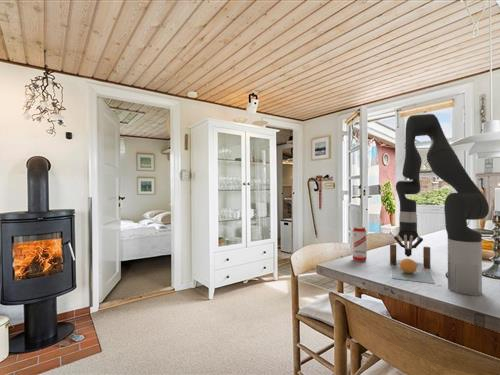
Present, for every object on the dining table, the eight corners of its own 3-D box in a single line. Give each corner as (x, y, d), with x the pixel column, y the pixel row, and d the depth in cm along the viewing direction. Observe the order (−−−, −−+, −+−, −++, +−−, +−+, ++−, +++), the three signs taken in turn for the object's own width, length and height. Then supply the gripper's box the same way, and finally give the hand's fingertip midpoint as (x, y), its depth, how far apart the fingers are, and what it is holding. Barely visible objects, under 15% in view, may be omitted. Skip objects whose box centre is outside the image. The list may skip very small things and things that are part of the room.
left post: (396, 265, 126) (396, 245, 126) (390, 264, 127) (389, 244, 127) (396, 263, 128) (396, 244, 128) (390, 263, 129) (389, 243, 129)
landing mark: (435, 284, 101) (435, 283, 101) (391, 278, 107) (391, 278, 107) (430, 273, 113) (430, 273, 113) (392, 269, 120) (392, 268, 120)
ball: (416, 258, 115) (417, 272, 115) (400, 256, 118) (400, 271, 118) (416, 260, 110) (416, 276, 110) (399, 259, 113) (399, 274, 113)
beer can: (367, 262, 131) (367, 228, 131) (353, 261, 132) (353, 228, 132) (365, 259, 137) (364, 226, 137) (351, 258, 138) (351, 226, 138)
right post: (430, 268, 120) (430, 248, 120) (423, 268, 121) (423, 247, 121) (430, 267, 122) (429, 246, 122) (423, 266, 123) (423, 246, 123)
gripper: (392, 221, 136) (393, 256, 136) (424, 222, 130) (424, 259, 130) (392, 219, 143) (393, 253, 143) (423, 220, 137) (423, 256, 137)
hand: (408, 256), depth 136 cm, fingers closed
